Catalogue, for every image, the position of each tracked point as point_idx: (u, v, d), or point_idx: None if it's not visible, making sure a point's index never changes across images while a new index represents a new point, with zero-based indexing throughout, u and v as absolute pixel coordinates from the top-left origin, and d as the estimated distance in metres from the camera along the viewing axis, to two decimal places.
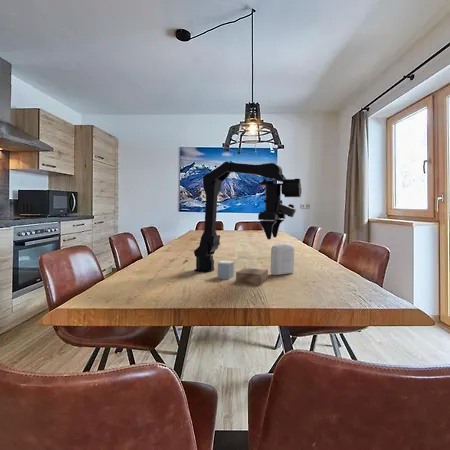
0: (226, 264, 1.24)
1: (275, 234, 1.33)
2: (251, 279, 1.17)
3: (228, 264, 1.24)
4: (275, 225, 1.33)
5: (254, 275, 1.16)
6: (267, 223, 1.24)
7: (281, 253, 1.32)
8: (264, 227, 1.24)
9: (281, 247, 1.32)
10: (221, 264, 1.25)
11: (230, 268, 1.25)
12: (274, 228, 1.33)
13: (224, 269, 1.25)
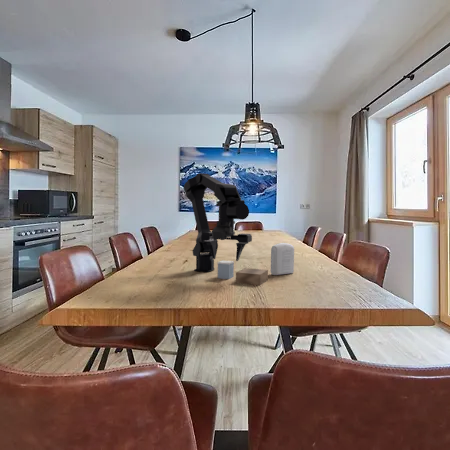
0: (226, 264, 1.24)
1: None
2: (251, 279, 1.17)
3: (228, 264, 1.24)
4: None
5: (254, 275, 1.16)
6: None
7: (281, 253, 1.32)
8: None
9: (281, 247, 1.32)
10: (221, 264, 1.25)
11: (230, 268, 1.25)
12: None
13: (224, 269, 1.25)
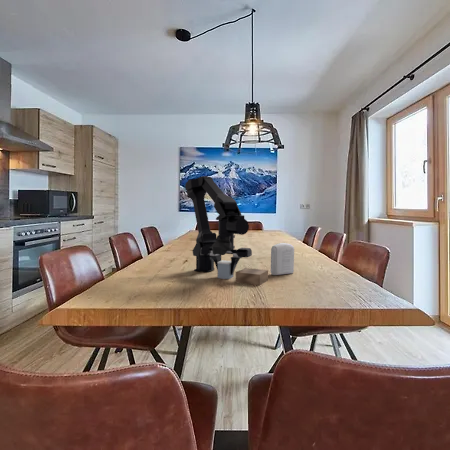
0: (226, 264, 1.24)
1: None
2: (251, 279, 1.17)
3: (228, 264, 1.24)
4: None
5: (253, 275, 1.16)
6: None
7: (281, 253, 1.32)
8: None
9: (281, 247, 1.32)
10: (221, 264, 1.25)
11: (230, 268, 1.25)
12: None
13: (224, 269, 1.25)
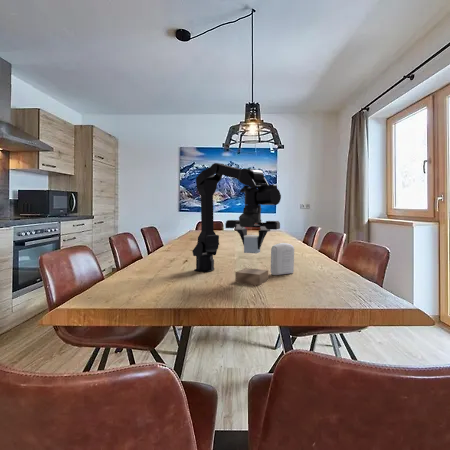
0: (253, 237, 1.18)
1: None
2: (250, 279, 1.17)
3: (255, 237, 1.18)
4: None
5: (253, 275, 1.16)
6: None
7: (281, 253, 1.32)
8: None
9: (281, 247, 1.32)
10: (248, 238, 1.19)
11: (257, 241, 1.18)
12: None
13: (251, 243, 1.18)
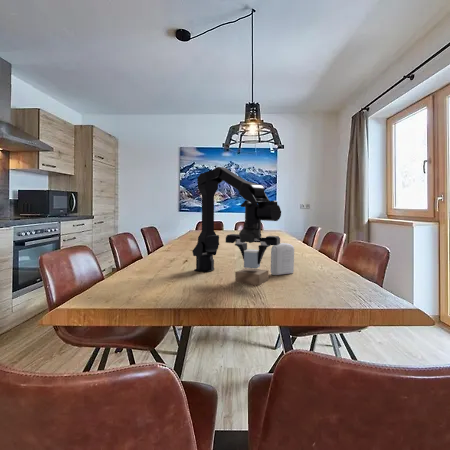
0: (253, 252, 1.18)
1: None
2: (250, 279, 1.17)
3: (255, 252, 1.18)
4: None
5: (253, 275, 1.16)
6: None
7: (281, 253, 1.32)
8: None
9: (281, 247, 1.32)
10: (248, 253, 1.19)
11: (257, 256, 1.19)
12: None
13: (251, 258, 1.19)
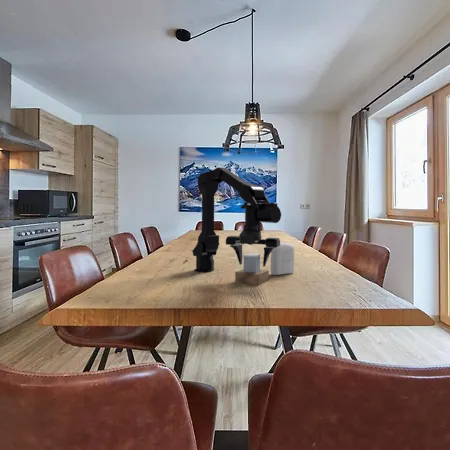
0: (253, 257, 1.18)
1: None
2: (250, 279, 1.17)
3: (255, 257, 1.18)
4: None
5: (252, 275, 1.16)
6: None
7: (281, 253, 1.32)
8: None
9: (281, 247, 1.32)
10: (247, 257, 1.19)
11: (256, 261, 1.19)
12: None
13: (250, 262, 1.19)
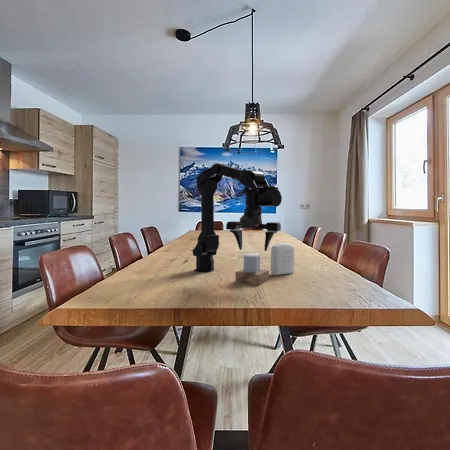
0: (253, 257, 1.18)
1: None
2: (250, 279, 1.17)
3: (255, 257, 1.18)
4: None
5: (253, 275, 1.16)
6: None
7: (281, 253, 1.32)
8: None
9: (281, 247, 1.32)
10: (247, 257, 1.19)
11: (256, 261, 1.19)
12: None
13: (251, 262, 1.19)
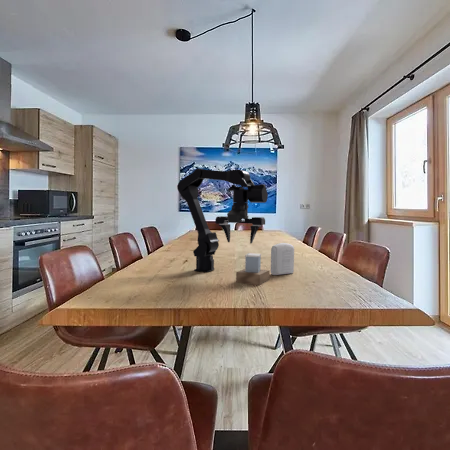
0: (255, 257, 1.18)
1: None
2: (251, 279, 1.17)
3: (257, 257, 1.18)
4: None
5: (253, 275, 1.16)
6: None
7: (281, 253, 1.32)
8: None
9: (281, 247, 1.32)
10: (249, 257, 1.19)
11: (258, 261, 1.19)
12: None
13: (253, 262, 1.19)
